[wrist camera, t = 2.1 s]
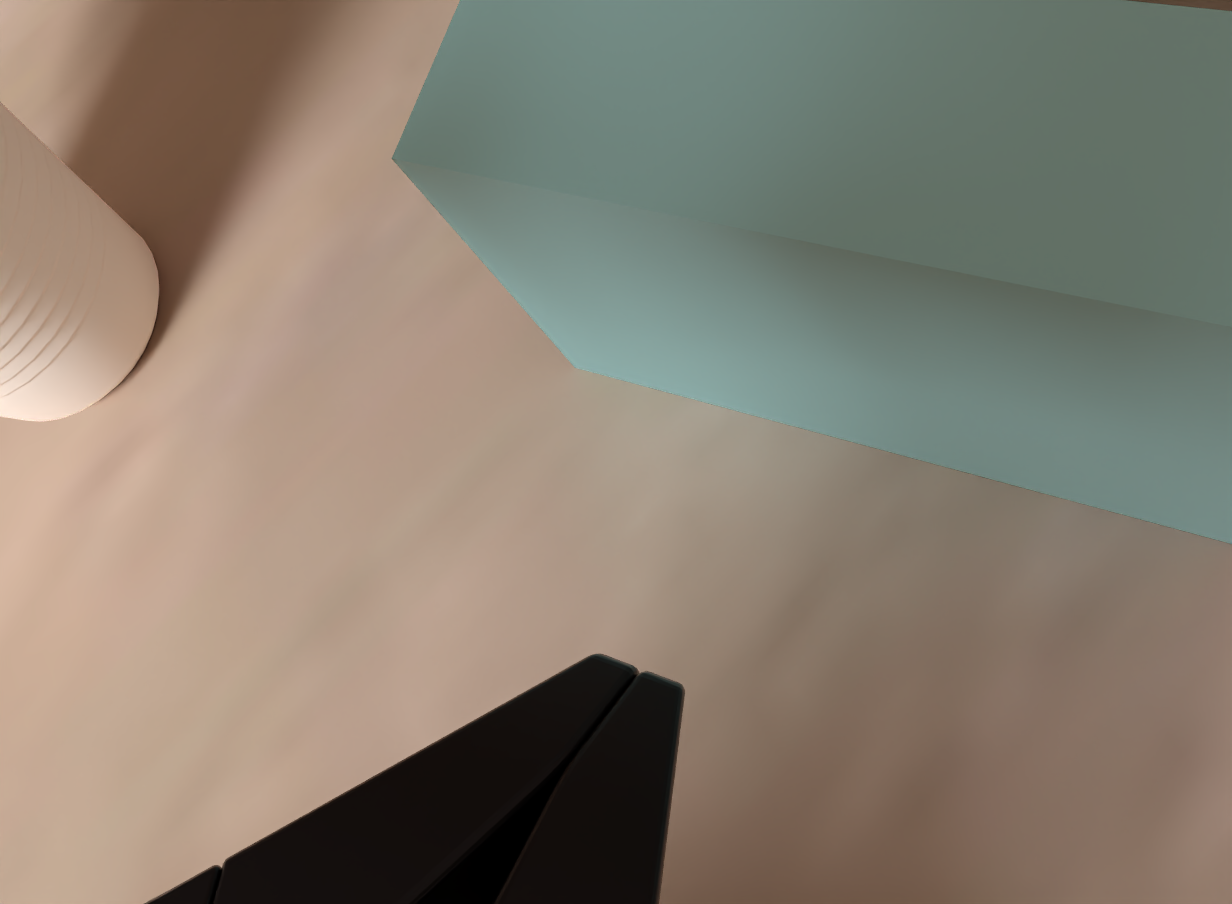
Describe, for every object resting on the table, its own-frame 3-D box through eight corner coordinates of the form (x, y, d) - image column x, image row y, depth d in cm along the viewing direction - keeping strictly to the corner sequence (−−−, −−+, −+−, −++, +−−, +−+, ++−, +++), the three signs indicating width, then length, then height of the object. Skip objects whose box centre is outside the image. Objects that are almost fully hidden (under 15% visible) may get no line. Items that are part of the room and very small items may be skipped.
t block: (1237, 545, 18) (1539, 388, 10) (575, 367, 23) (392, 158, 14) (1386, -76, 20) (1733, -633, 12) (759, -120, 25) (694, -544, 17)
